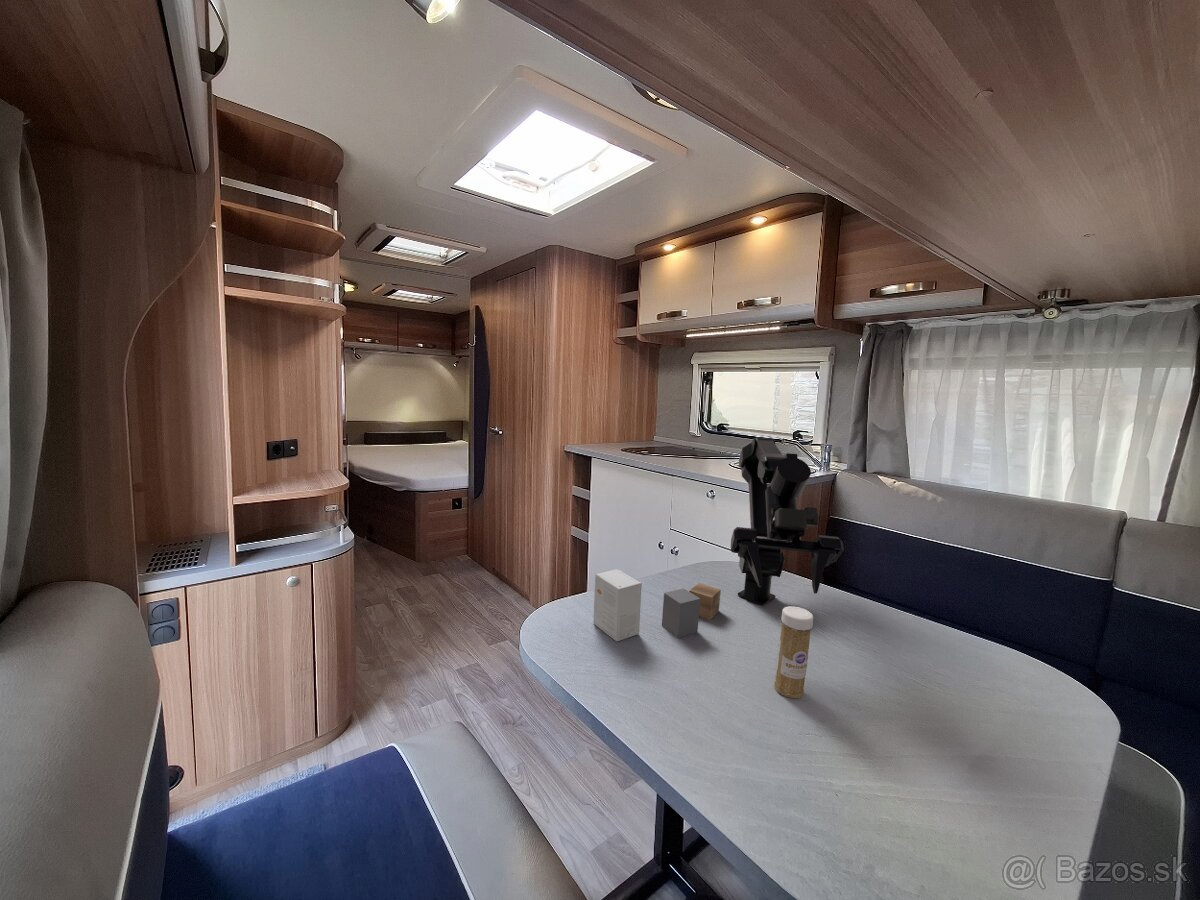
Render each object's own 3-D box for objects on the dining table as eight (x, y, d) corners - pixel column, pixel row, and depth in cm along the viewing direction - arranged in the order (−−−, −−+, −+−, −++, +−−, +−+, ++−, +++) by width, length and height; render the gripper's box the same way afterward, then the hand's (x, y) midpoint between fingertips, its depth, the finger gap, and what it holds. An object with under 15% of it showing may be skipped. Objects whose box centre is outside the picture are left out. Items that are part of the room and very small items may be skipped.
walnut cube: (697, 604, 104) (699, 582, 104) (718, 611, 102) (720, 589, 101) (687, 612, 100) (689, 590, 100) (709, 620, 97) (711, 597, 97)
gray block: (681, 620, 97) (683, 588, 96) (697, 632, 92) (700, 598, 91) (661, 625, 94) (664, 592, 93) (677, 637, 90) (680, 603, 89)
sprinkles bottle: (788, 702, 73) (798, 621, 71) (767, 684, 77) (776, 607, 75) (810, 696, 75) (820, 616, 73) (788, 679, 79) (797, 603, 77)
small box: (639, 635, 90) (643, 583, 89) (616, 642, 87) (619, 589, 86) (615, 616, 97) (617, 568, 95) (592, 623, 94) (594, 573, 92)
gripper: (737, 484, 86) (738, 564, 77) (847, 493, 83) (861, 578, 74) (730, 514, 95) (730, 589, 86) (828, 524, 92) (839, 602, 82)
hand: (787, 589), depth 82 cm, fingers open, 9 cm apart
